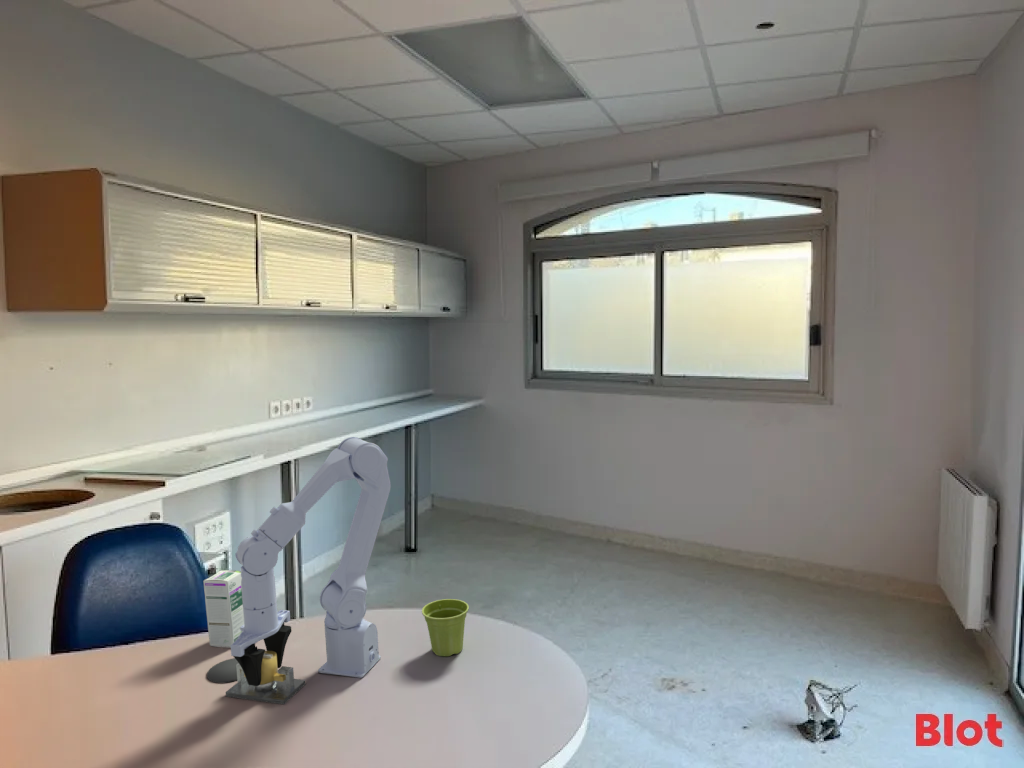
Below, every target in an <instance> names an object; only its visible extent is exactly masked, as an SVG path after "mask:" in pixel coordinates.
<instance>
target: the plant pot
mask: <svg viewBox="0 0 1024 768" xmlns="http://www.w3.org/2000/svg"><path fill="white" fill-rule="evenodd" d="M469 608H470V605H469V604H468V603H467V602H466V601H464V600H461V599H457V598H456V599H453V598H445V599H437V600H433V601H432V602H428V603H426V604H425V605H424V606H423V607H422V608H421V613H422V616H423V617H424V619H425V620H424V621H425V622H426V626H427V631H428V635H429V641H430V645H431V650H432V651H431V652H433V653H434V654H435V655H436V656H437V657H438V656H439V657H450V656H453V655H455V654H459V653H461V652H462V650H463V648H464V647H463V646H464V637H465V635H464V633H465V625H466V624H465V623H466V618H467V614H468V611H469Z"/></svg>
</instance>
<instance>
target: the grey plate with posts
mask: <svg viewBox="0 0 1024 768" xmlns="http://www.w3.org/2000/svg"><path fill="white" fill-rule="evenodd" d="M236 668H237V681H236V682H237V683H235V684H234V685H233V686H231V687H230V688H228V690H226V691H225V697H228V698H235V699H242V700H248V701H249V700H250V701H254V702H255V701H256V702H257V701H258V702H263V703H264V702H265V703H270V704H276V705H277V704H279V705H285V704H286V703H287V702H288V701H290V699H291V698H293V696H294V695H296V693H298V692H299V691H300V690H301V689H302V688H303V687H304V686H305V685H306V684H307V683H306V679H301V678H300V679H299V678H295V676H294V673H295V672H294V667H293V666H292V667H291V666H284V665H281V667H280V668H278V674H284V675H286V679H285V680H284V681H283V682H281V681H272V682H269V683H266V684H260V685H259V686H253V685H249V684H248V682H247V679H246V677H244V672H243V669H242V667H241V666H240V664H239V663H238V664H237V665H236Z"/></svg>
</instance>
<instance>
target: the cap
mask: <svg viewBox="0 0 1024 768" xmlns="http://www.w3.org/2000/svg"><path fill="white" fill-rule="evenodd" d="M278 670H279V668H278V667H277V654H276V652H274V651H267V650H265V653H264V655H263V659H262V666H261V683H260V684H266V683H269V682H272V681H281V682H283V681H284V680H285V679H286V675H284V674H278ZM244 677H246V676H245V674H244Z"/></svg>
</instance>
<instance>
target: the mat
mask: <svg viewBox="0 0 1024 768" xmlns="http://www.w3.org/2000/svg"><path fill="white" fill-rule="evenodd" d="M237 664H238V661H237V660H236V659H235V658H234V657H233V658H229V659H226V660H222V661H220V662H218V663H216V664H214V665H212V667H210V668H209V669H208V671H207V673H206V677H207V679H208V680H209V681H211V682H213V683H216V684H217V683H218V684H219V683H220V684H223V683H224V684H226V683H232V682H238V681H237V668H236V665H237Z"/></svg>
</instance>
